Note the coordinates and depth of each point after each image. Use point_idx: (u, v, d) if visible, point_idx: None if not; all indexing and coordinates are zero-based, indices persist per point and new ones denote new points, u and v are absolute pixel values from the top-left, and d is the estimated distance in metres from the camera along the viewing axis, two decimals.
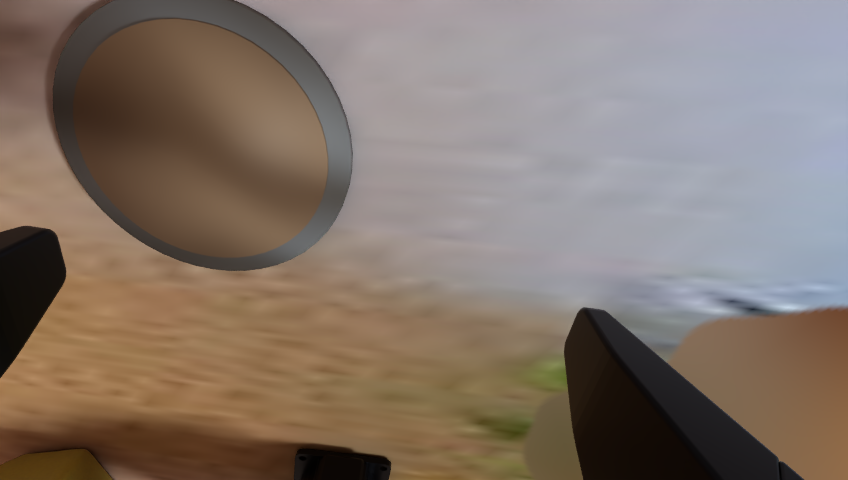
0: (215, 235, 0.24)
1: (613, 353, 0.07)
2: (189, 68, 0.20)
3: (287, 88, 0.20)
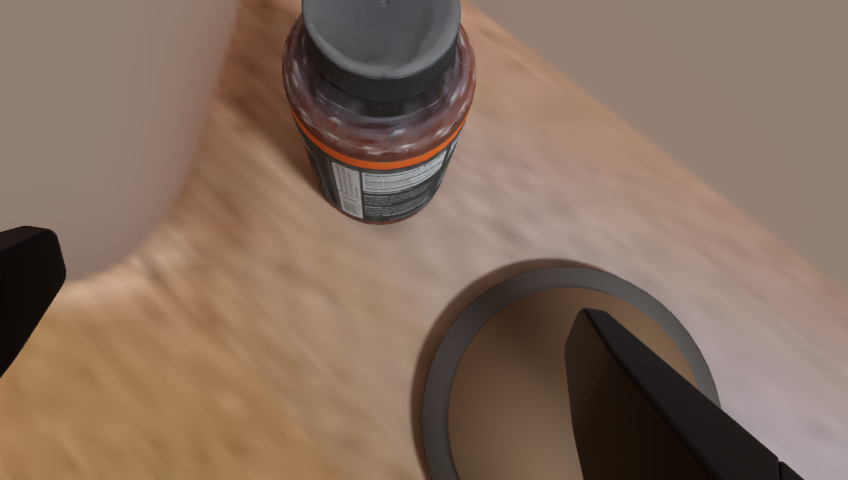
0: None
1: (613, 353, 0.07)
2: None
3: None
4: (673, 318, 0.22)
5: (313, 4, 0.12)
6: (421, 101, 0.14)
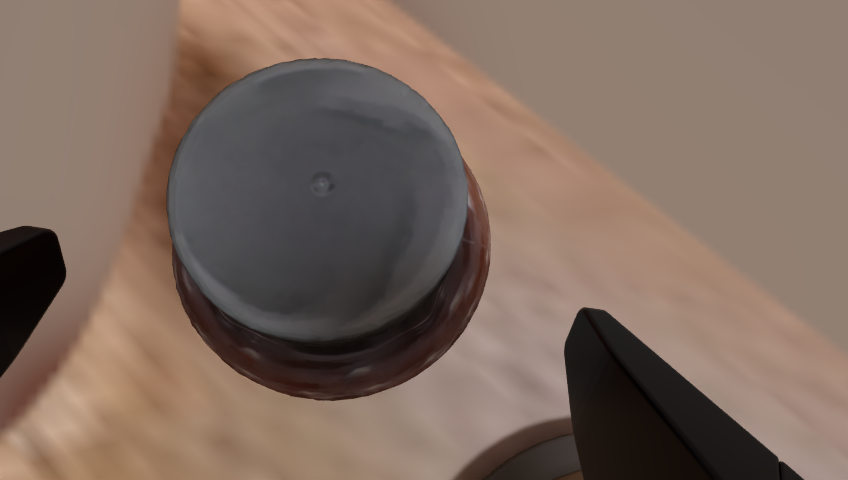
0: None
1: (613, 353, 0.07)
2: None
3: None
4: None
5: (187, 195, 0.06)
6: (398, 326, 0.08)
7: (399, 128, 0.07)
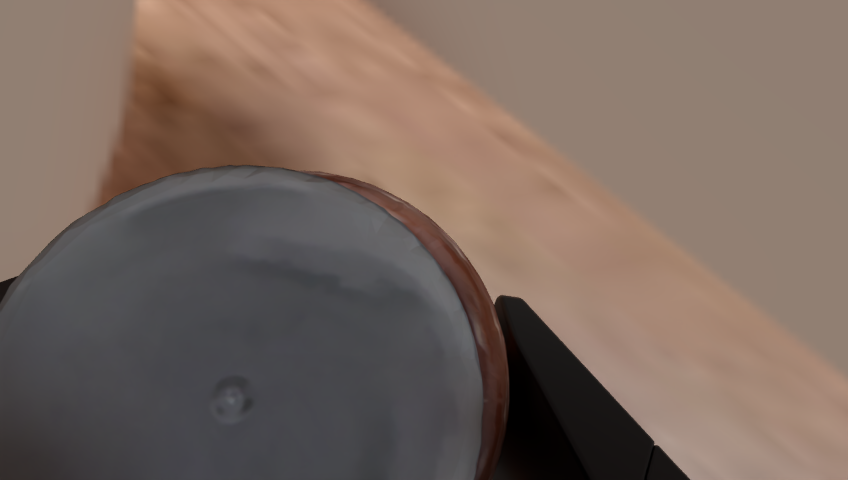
0: None
1: (514, 339, 0.07)
2: None
3: None
4: None
5: None
6: None
7: (367, 290, 0.04)
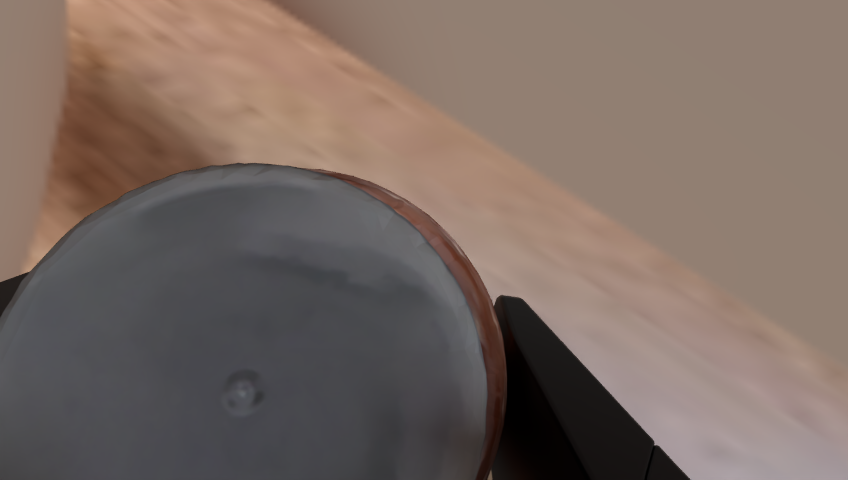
0: None
1: (514, 339, 0.07)
2: None
3: None
4: None
5: (2, 428, 0.04)
6: None
7: (375, 286, 0.04)
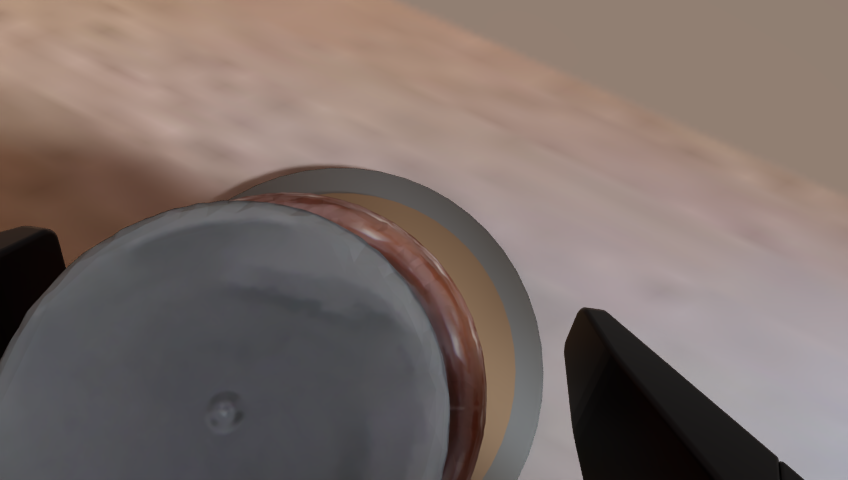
0: None
1: (613, 353, 0.07)
2: None
3: (497, 330, 0.16)
4: (447, 202, 0.17)
5: (10, 443, 0.04)
6: None
7: (346, 314, 0.04)
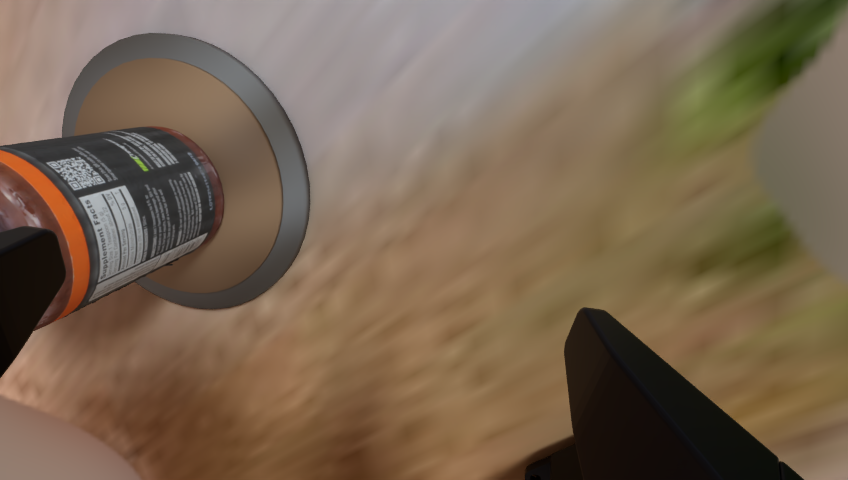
0: (235, 251, 0.23)
1: (613, 353, 0.07)
2: (115, 124, 0.23)
3: (165, 69, 0.21)
4: (85, 70, 0.23)
5: None
6: None
7: None
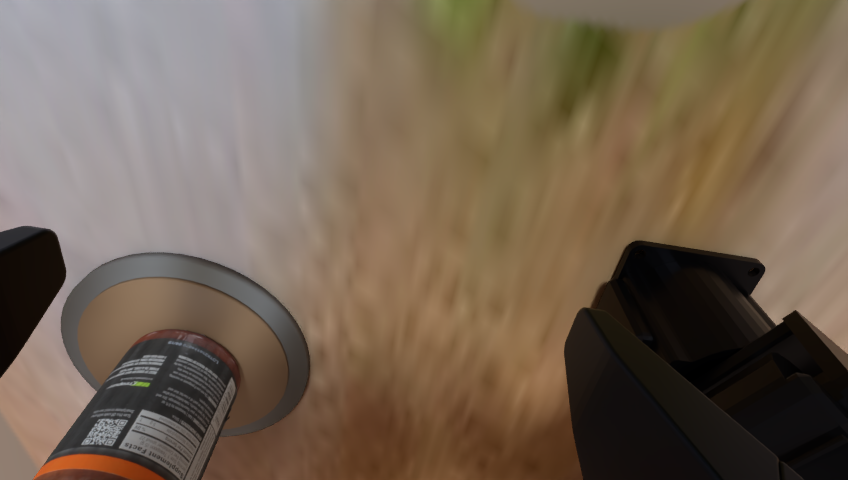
0: (263, 369, 0.27)
1: (613, 353, 0.07)
2: (115, 358, 0.27)
3: (105, 301, 0.25)
4: (66, 342, 0.27)
5: None
6: None
7: None
